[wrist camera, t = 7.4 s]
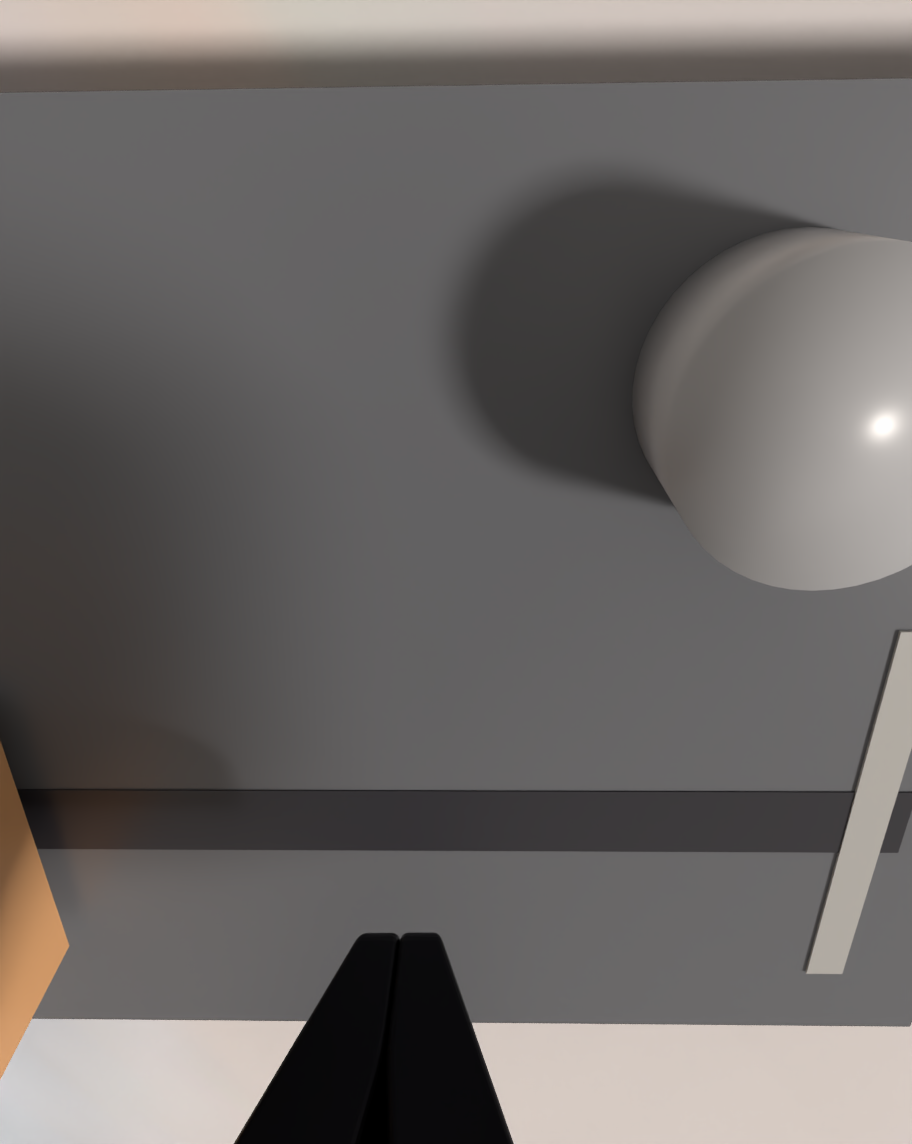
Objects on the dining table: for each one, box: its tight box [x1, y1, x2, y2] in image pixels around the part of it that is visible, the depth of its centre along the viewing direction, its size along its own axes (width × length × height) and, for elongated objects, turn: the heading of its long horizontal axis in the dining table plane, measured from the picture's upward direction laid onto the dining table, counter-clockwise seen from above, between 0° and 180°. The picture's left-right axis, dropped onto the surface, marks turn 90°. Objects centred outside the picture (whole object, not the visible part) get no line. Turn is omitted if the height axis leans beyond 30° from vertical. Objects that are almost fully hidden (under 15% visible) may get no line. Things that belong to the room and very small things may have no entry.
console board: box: [0, 78, 912, 1026], centre depth 9 cm, size 12×18×3 cm, turn 90°
